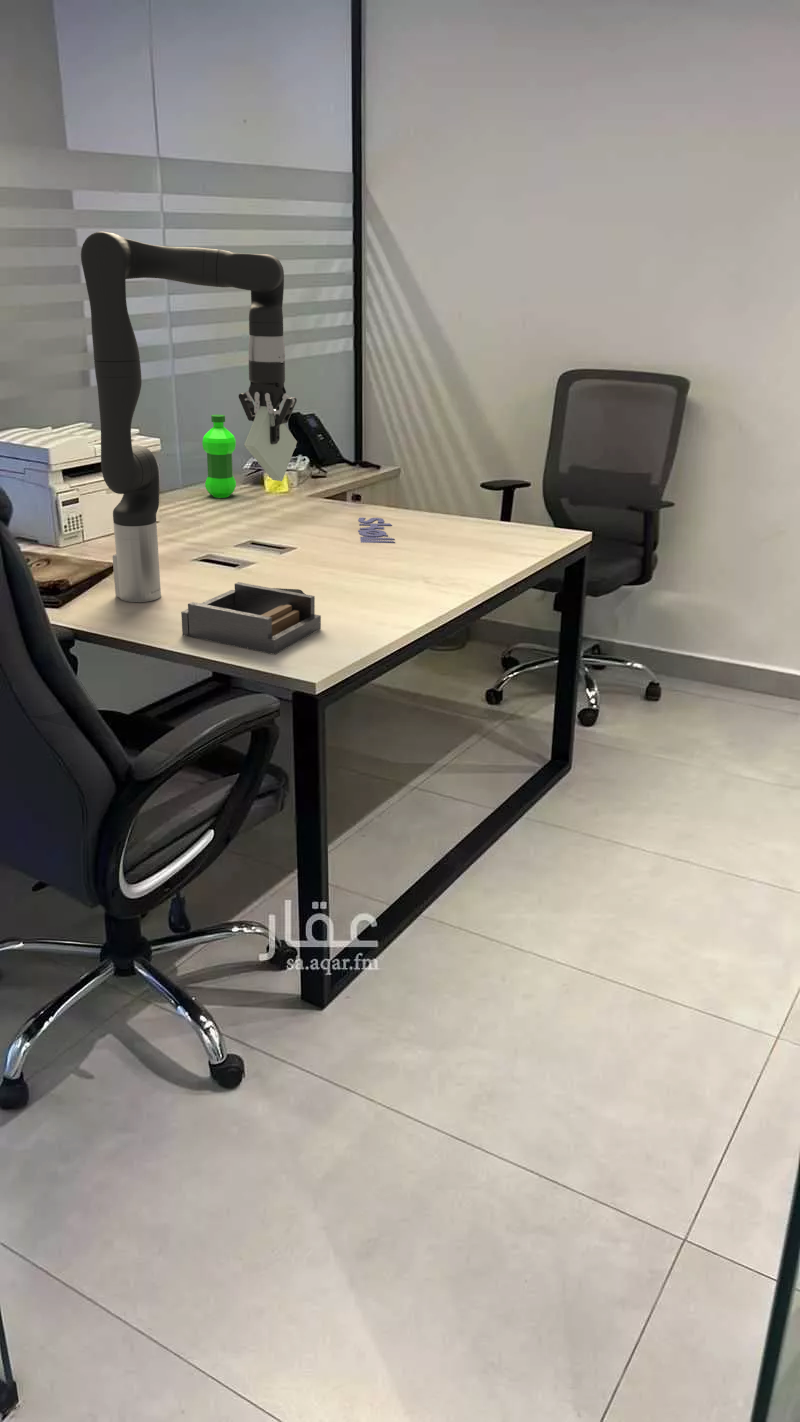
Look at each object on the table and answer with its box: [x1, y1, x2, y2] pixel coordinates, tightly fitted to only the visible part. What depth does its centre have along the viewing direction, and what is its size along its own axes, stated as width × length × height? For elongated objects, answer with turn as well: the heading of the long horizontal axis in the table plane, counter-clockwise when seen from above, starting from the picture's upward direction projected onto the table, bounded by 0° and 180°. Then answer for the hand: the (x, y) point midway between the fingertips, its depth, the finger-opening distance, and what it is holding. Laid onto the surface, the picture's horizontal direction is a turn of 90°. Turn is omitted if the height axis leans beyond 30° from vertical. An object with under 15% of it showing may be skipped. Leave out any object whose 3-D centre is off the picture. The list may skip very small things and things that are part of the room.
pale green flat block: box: [243, 406, 298, 482], centre depth 230 cm, size 2×10×14 cm
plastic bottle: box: [202, 414, 237, 499], centre depth 335 cm, size 10×10×25 cm
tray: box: [180, 581, 322, 656], centre depth 221 cm, size 22×18×7 cm
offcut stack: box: [262, 605, 299, 636], centre depth 219 cm, size 4×12×6 cm, turn 154°
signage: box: [357, 517, 396, 544], centre depth 305 cm, size 28×1×10 cm
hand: (268, 442), depth 229 cm, fingers closed on pale green flat block, 2 cm apart
